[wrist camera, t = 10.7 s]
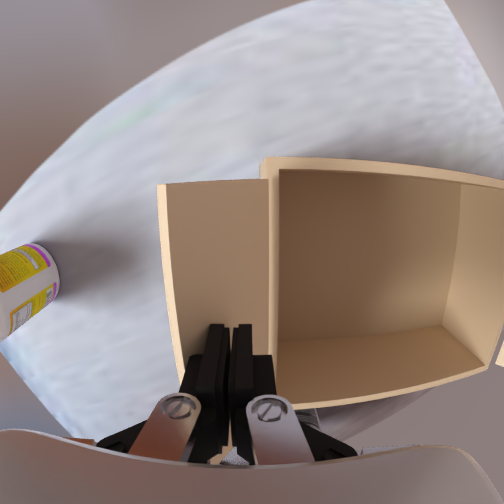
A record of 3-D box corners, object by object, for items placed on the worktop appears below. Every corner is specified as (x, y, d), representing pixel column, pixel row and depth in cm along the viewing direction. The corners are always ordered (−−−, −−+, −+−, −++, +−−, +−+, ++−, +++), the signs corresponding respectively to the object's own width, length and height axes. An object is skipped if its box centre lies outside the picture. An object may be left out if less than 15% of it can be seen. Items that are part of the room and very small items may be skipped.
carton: (441, 326, 27) (487, 369, 18) (261, 344, 27) (265, 411, 18) (461, 178, 23) (526, 185, 14) (259, 164, 23) (266, 156, 14)
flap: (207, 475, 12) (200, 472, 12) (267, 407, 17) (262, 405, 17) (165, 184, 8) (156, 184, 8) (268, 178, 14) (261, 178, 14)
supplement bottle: (13, 244, 24) (-71, 281, 12) (54, 239, 24) (-40, 282, 12) (27, 301, 26) (-46, 356, 13) (68, 303, 26) (-8, 369, 13)
